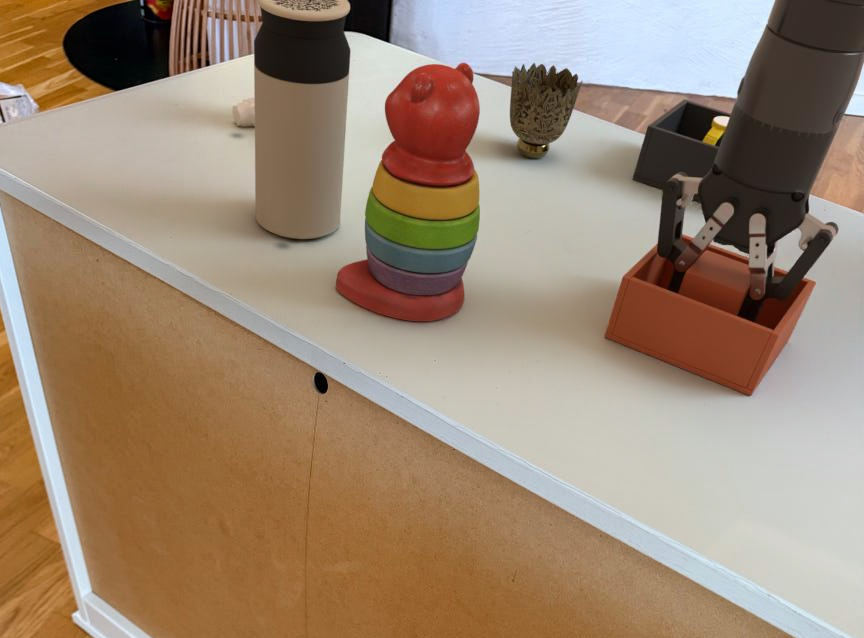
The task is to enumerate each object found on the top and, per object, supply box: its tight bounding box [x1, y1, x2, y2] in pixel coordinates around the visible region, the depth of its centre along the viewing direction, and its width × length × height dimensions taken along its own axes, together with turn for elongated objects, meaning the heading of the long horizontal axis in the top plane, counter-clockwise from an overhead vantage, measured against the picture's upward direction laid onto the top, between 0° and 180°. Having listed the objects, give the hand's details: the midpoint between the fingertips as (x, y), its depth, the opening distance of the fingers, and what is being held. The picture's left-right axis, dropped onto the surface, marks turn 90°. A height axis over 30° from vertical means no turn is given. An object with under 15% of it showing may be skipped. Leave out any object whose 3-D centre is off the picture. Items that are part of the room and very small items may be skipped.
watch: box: [702, 116, 730, 145], centre depth 100 cm, size 6×3×6 cm, turn 133°
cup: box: [509, 62, 584, 159], centre depth 100 cm, size 8×7×8 cm
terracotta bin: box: [604, 233, 817, 397], centre depth 78 cm, size 13×11×6 cm
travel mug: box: [253, 0, 351, 240], centre depth 80 cm, size 8×8×18 cm
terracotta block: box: [678, 250, 750, 316], centre depth 77 cm, size 5×5×5 cm
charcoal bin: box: [632, 99, 731, 203], centre depth 101 cm, size 13×11×6 cm
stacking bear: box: [335, 62, 481, 322], centre depth 74 cm, size 11×10×18 cm
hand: (704, 321), depth 79 cm, fingers closed on terracotta block, 5 cm apart
